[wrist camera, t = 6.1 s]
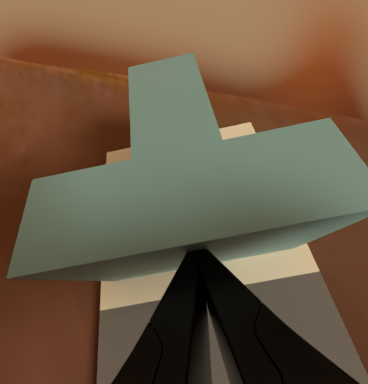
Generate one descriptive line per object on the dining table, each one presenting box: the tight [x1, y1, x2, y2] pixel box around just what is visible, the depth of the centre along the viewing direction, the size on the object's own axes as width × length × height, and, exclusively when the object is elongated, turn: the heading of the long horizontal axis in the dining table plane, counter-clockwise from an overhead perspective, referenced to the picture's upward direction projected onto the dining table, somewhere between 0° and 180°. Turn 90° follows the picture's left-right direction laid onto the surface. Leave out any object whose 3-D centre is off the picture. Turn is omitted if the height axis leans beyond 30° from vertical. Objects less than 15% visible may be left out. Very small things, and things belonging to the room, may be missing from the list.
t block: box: [6, 53, 368, 282], centre depth 12 cm, size 11×13×8 cm
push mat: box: [97, 122, 368, 384], centre depth 14 cm, size 22×15×1 cm
